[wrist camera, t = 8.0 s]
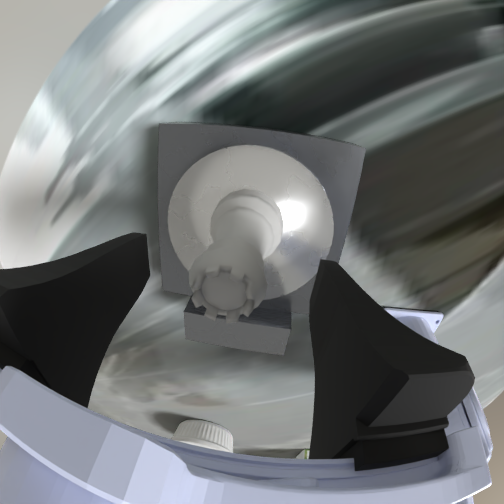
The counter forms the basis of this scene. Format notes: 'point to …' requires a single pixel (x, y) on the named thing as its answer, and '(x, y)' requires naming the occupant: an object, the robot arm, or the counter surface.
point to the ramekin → (204, 435)
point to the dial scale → (271, 184)
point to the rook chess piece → (236, 255)
